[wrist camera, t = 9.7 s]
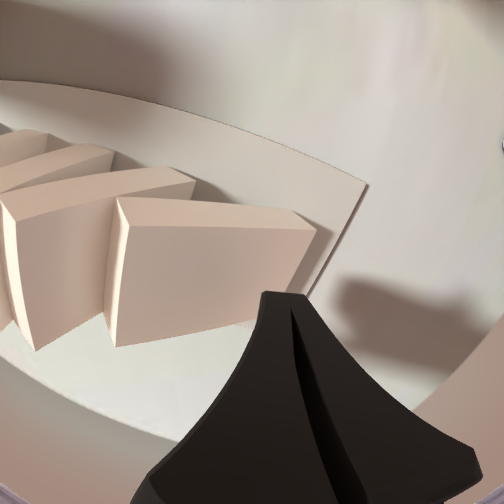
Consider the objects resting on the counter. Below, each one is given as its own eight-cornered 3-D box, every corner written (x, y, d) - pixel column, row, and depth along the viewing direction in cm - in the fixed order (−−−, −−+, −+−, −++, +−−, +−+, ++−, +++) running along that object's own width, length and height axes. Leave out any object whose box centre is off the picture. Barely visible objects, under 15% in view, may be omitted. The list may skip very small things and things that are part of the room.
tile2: (196, 180, 11) (15, 221, 4) (169, 273, 12) (35, 351, 6) (166, 165, 11) (-3, 194, 5) (144, 255, 13) (13, 318, 7)
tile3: (114, 151, 10) (-26, 205, 4) (99, 241, 12) (-1, 333, 6) (86, 142, 10) (-50, 189, 4) (74, 229, 12) (-27, 310, 6)
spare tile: (317, 230, 11) (129, 225, 6) (272, 314, 13) (115, 347, 8) (290, 209, 12) (116, 196, 7) (252, 291, 14) (103, 312, 9)
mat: (363, 181, 11) (366, 183, 11) (280, 333, 15) (280, 336, 15) (-22, 79, 8) (-26, 80, 8) (-31, 214, 12) (-33, 215, 12)
